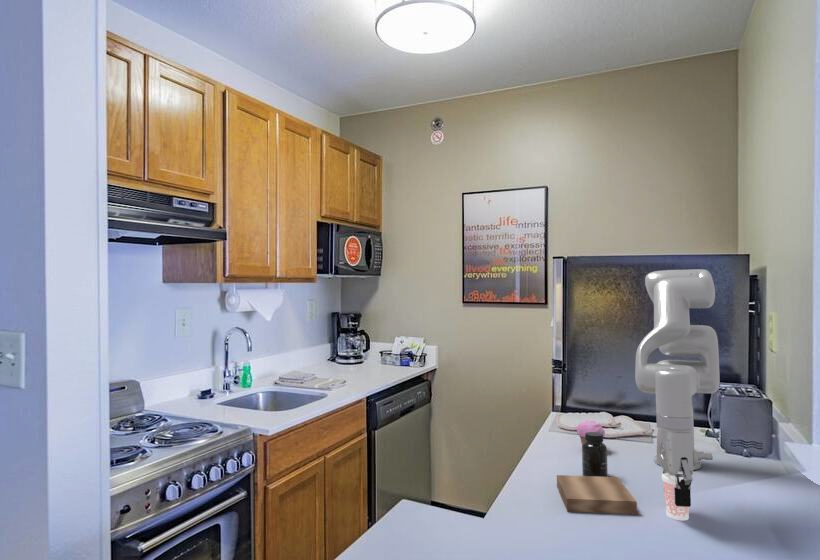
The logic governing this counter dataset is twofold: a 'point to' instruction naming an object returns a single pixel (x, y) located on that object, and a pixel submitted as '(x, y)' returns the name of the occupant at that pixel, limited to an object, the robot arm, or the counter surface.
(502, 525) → the counter surface
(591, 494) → the walnut base
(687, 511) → the beverage cup
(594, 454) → the supplement bottle
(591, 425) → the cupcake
